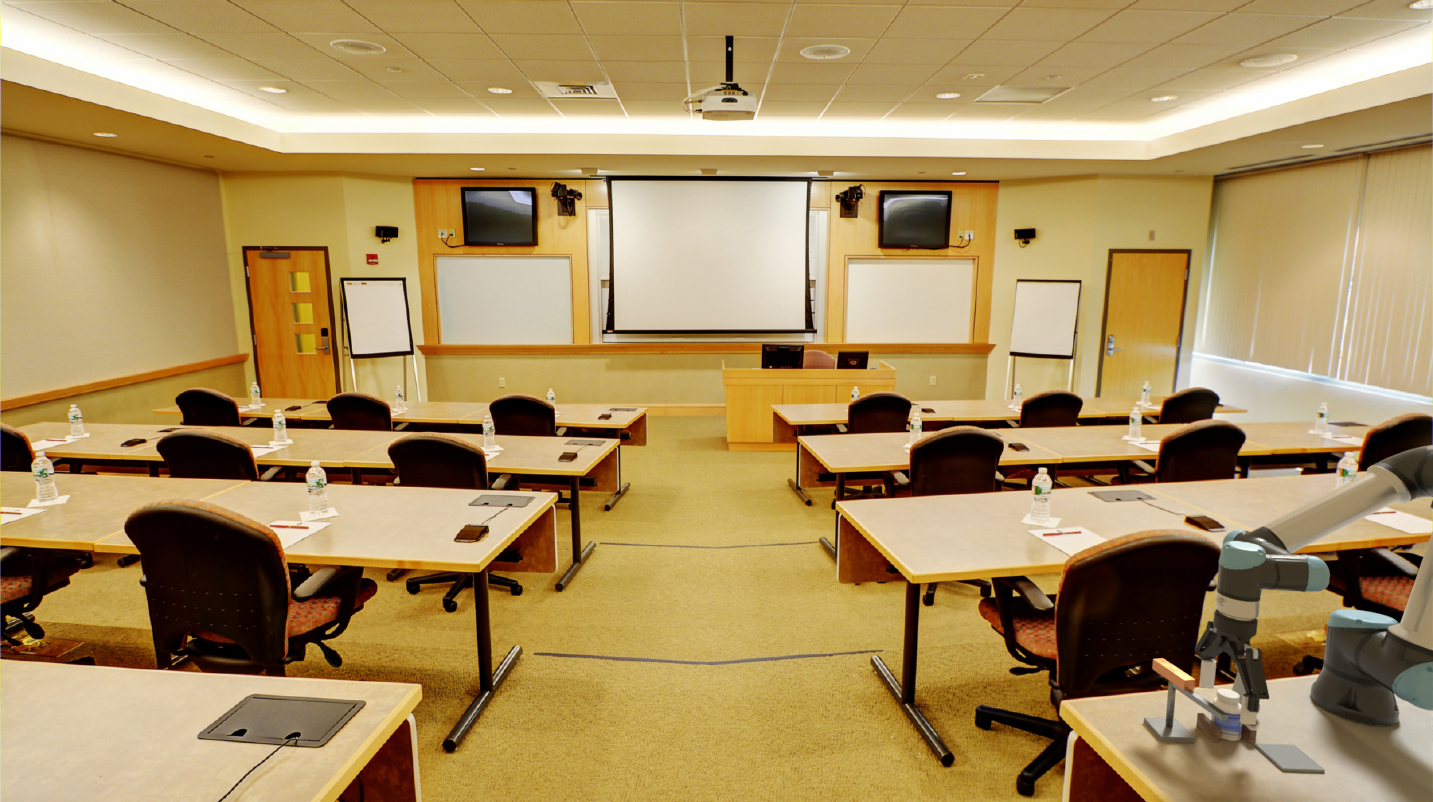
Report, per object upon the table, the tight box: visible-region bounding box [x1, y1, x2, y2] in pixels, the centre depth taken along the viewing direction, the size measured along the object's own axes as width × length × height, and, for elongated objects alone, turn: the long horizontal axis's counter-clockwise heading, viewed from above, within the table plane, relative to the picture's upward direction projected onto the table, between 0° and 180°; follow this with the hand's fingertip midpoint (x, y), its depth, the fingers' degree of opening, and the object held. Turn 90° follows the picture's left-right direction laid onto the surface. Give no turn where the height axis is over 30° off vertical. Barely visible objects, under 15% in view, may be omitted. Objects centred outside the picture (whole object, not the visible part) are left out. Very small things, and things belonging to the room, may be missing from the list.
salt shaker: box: [1231, 664, 1261, 715], centre depth 156 cm, size 6×6×13 cm
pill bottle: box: [1210, 688, 1242, 742], centre depth 149 cm, size 5×5×10 cm
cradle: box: [1196, 712, 1257, 744], centre depth 150 cm, size 9×6×3 cm
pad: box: [1254, 743, 1326, 774], centre depth 141 cm, size 8×8×1 cm
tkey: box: [1152, 657, 1228, 728], centre depth 145 cm, size 18×2×14 cm, turn 7°
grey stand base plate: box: [1143, 717, 1196, 744], centre depth 151 cm, size 7×7×1 cm
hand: (1225, 704), depth 149 cm, fingers open, 13 cm apart
